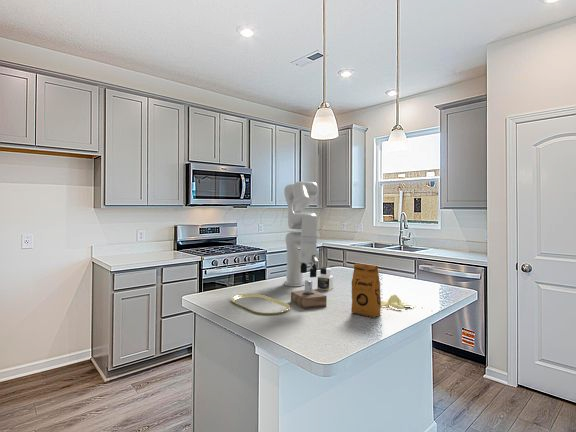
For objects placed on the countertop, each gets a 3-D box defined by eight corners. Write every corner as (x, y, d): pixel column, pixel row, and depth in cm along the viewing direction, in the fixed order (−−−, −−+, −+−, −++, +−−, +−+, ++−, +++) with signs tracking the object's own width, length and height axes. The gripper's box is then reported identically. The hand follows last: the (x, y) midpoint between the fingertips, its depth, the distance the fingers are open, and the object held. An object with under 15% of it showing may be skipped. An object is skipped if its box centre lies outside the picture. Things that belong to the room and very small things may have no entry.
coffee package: (374, 320, 145) (375, 267, 144) (348, 314, 152) (348, 264, 152) (384, 314, 152) (385, 264, 152) (358, 308, 160) (359, 261, 160)
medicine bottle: (317, 289, 198) (317, 268, 197) (321, 286, 204) (322, 266, 204) (329, 290, 195) (329, 269, 194) (333, 288, 201) (333, 267, 200)
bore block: (290, 301, 171) (290, 291, 171) (312, 298, 176) (312, 289, 176) (303, 309, 159) (303, 298, 158) (326, 306, 164) (326, 295, 164)
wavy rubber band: (264, 319, 146) (264, 315, 146) (224, 300, 173) (224, 297, 173) (298, 311, 157) (298, 307, 157) (256, 295, 185) (256, 292, 185)
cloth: (363, 305, 167) (364, 293, 167) (387, 299, 179) (387, 287, 179) (404, 317, 150) (405, 303, 150) (427, 310, 161) (428, 297, 161)
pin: (303, 301, 168) (303, 280, 168) (309, 300, 170) (310, 280, 170) (306, 303, 165) (307, 282, 165) (313, 302, 167) (313, 281, 166)
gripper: (294, 237, 173) (293, 271, 174) (310, 242, 157) (309, 279, 158) (307, 237, 176) (306, 270, 177) (325, 241, 161) (324, 278, 162)
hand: (308, 274), depth 168 cm, fingers open, 9 cm apart
